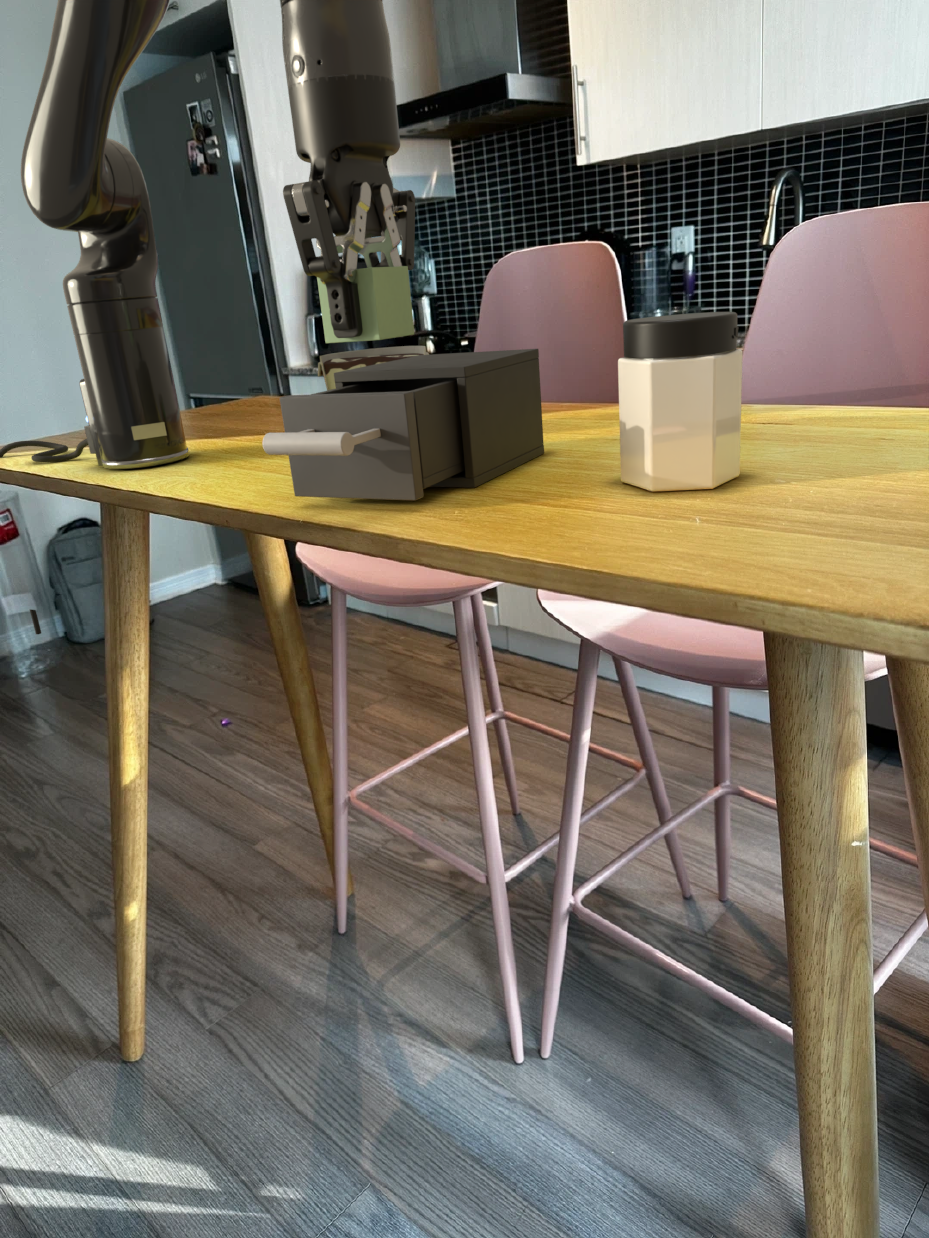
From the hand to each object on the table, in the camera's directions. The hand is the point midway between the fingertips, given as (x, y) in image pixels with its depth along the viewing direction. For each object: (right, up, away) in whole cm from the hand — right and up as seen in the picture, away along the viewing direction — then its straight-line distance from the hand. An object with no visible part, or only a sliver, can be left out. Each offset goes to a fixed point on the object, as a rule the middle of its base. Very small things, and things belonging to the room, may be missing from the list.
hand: (369, 333), depth 68 cm
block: (0, 0, 0) cm, 0 cm away
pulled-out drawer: (+1, -11, +3) cm, 12 cm away
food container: (-1, -3, +30) cm, 31 cm away
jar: (+24, -11, 0) cm, 27 cm away
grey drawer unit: (+6, -8, +13) cm, 16 cm away
